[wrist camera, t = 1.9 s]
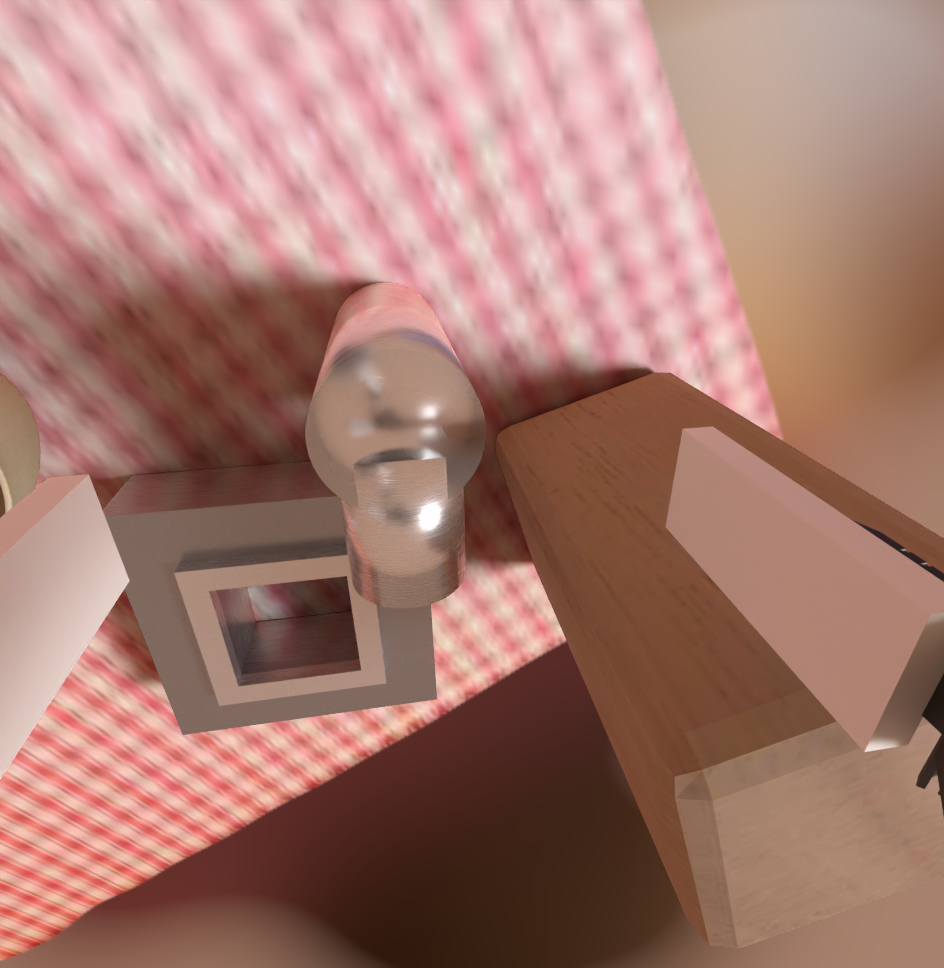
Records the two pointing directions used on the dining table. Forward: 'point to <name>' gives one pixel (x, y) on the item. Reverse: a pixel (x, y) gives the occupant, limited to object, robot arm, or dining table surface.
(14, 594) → the robot arm
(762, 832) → the block
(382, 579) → the elbow
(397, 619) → the duct socket
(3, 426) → the flower pot
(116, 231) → the dining table surface
